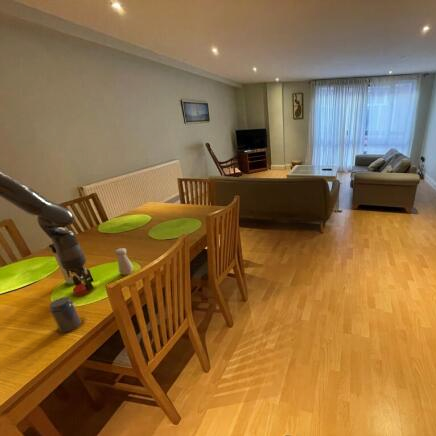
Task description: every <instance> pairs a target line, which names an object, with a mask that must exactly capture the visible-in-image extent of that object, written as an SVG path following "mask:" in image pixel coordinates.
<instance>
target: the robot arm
mask: <svg viewBox="0 0 436 436" xmlns="http://www.w3.org/2000/svg"><path fill="white" fill-rule="evenodd" d="M0 198H2V199H3V200H5V201H7V202H8V203H10V204H12V205H13V206H15V207H17V208H18V209H20V210H21V211H23V212H24V213H26V214H29V215H31V216H35V217H36V222H37V225H38V226H39V228H41V230H42V231H43V232H44V233H45V234H46V235H47V236H48V237H49V239H50V240H51V242H52V244H54V246H55V249H56V252H57V256H58V258H59V260H60V262H61V265H62V267H63V269H65V270H66V272H67V275H68V277H70V276H71V279H73V282H74V284H73V285H74V287H75V286H77V285H79V284H81V283H83V284H84V285H85V288H86V290H87V291H90V290H92V289H93V290H94V285H93V284H92V283H93V282H94V278H93V276H92V274H91V271H90V269H88V268H87V269H86V267H84V265H86V263H87V259H86V257H85V253H84V251H83V249H82V246H81V245H80V243H79V240H78V237H77V235H76V233H75V232H74V231H73V230H70V229H66V228H67V227H70V226H72V225H73V223H74V222H75V216H74V214H73V212H72V211H71V210H69V209H68V208H66V207H64V206H62V205H61V204H58V203H57V202H54V201H51V200H49V199H47V198H46V197H44V196H43V195H42V194H40V193H39V192H38V191H36V190H35V189H33V188H32V187H30V186H28V185H26V184H25V183H22V182H21V181H18V180H17V179H14V178H12V177H11V176H9V175H7V174H5V173H4V172H3V171H0ZM69 272H70V273H69ZM82 276H83V277H82ZM80 277H82V278H80ZM92 285H93V286H92ZM93 290H92V291H93Z"/></svg>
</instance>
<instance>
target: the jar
mask: <svg viewBox="0 0 436 436" xmlns="http://www.w3.org/2000/svg"><path fill="white" fill-rule="evenodd" d="M49 313H50V315H51V317H52V319H53V320H54V322H55V324H56V327H57V328H58V331H59V332H60V333H63V334H64V333H65V334H66V333H69V332H71V331H74V330H76V329H77V328H78V327H79V326H81V324H82V319H81V318H80V315H79V312H78V310H77V308H76V306H75V304H74V302H73V300H71V299H70V297H68V296H62V297H59V298H57V299H54V300H53V301H52V302H51V303H49Z"/></svg>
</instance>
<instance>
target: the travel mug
mask: <svg viewBox="0 0 436 436" xmlns="http://www.w3.org/2000/svg"><path fill="white" fill-rule="evenodd" d="M48 248H51V251H52V254H53V256H54V259H55V261H56V263H57V265H58V268H59V269H60V272H61V274H62V276H63V279H64V281H65V283H66V285H69V286H72V285H75V284H74V282H73V279H71V276H70V277H68V275H67V272H66V270H65V269H63V267H62V265H61V262H60V260H59V258H58V256H57V252H56V249H55V246H54V244H53V243H50V244H49V245H48ZM69 273H70V272H69ZM82 277H83V276H82ZM82 277H80V278H82Z"/></svg>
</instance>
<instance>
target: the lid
mask: <svg viewBox="0 0 436 436" xmlns="http://www.w3.org/2000/svg"><path fill="white" fill-rule="evenodd" d="M92 286H93V287H94V285H93V284H92ZM93 290H94V288H93V289H92V290H90V291H87V290H86V288H85V285H84V284H83V282H82V283H81V284H79V285H77V286H75V285H74V287H73V288H72V292H73V294H74V295H75V296H76V297H81V296H85V295H88V294H90V293H91V292H92V291H93Z"/></svg>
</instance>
